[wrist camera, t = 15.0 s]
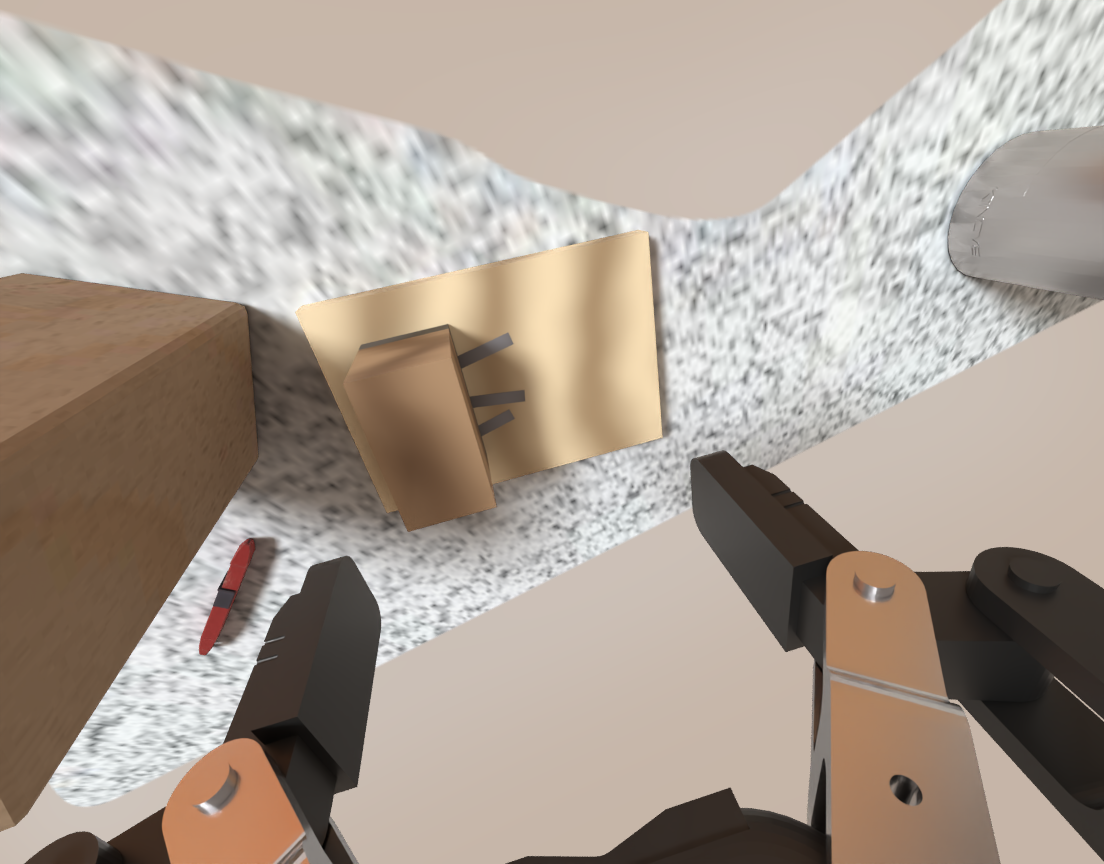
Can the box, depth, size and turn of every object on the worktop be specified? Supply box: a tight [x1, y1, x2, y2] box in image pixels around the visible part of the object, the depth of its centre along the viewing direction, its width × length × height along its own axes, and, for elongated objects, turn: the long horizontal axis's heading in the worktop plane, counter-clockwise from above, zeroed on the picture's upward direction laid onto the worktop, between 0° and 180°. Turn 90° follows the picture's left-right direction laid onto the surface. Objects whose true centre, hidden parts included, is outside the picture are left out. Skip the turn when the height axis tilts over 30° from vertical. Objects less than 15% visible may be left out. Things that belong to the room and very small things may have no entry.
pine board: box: [295, 230, 662, 513], centre depth 30 cm, size 20×14×2 cm
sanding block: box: [343, 324, 497, 532], centre depth 26 cm, size 5×9×6 cm, turn 10°
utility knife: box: [199, 539, 255, 655], centre depth 33 cm, size 12×1×2 cm, turn 149°
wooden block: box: [0, 273, 258, 832], centre depth 18 cm, size 10×10×20 cm
